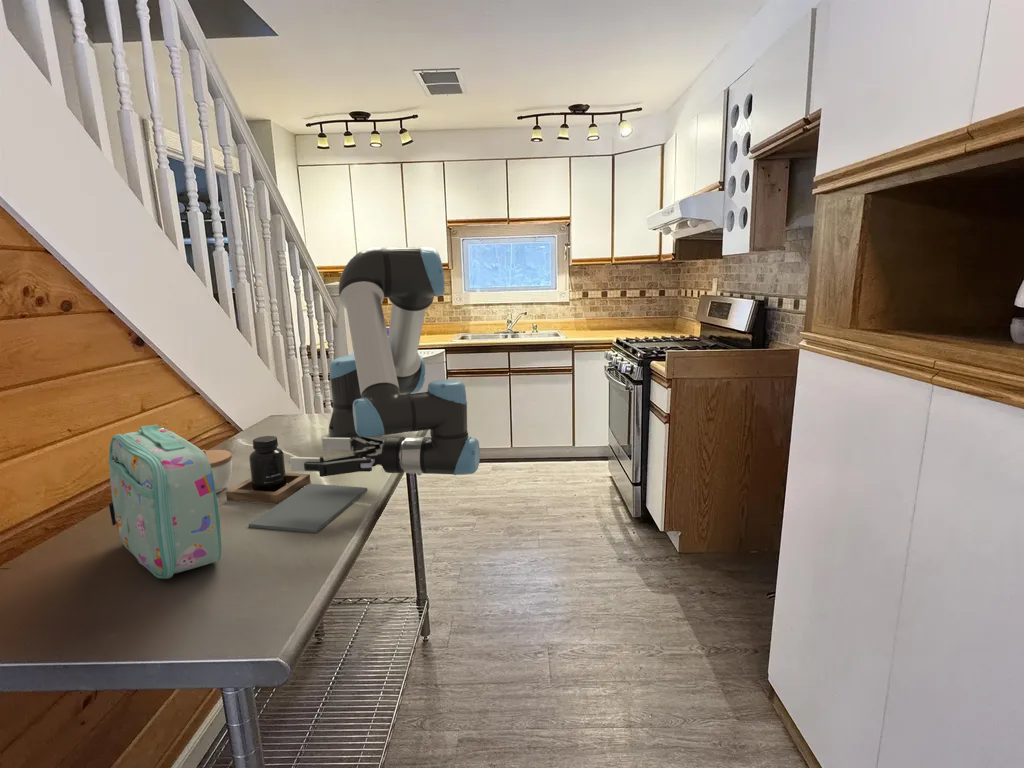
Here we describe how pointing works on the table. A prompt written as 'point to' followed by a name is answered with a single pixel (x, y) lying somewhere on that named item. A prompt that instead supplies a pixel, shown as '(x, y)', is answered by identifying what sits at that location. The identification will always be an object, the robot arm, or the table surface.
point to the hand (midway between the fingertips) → (308, 453)
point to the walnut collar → (248, 495)
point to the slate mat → (309, 508)
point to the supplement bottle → (267, 465)
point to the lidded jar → (220, 467)
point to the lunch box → (164, 501)
